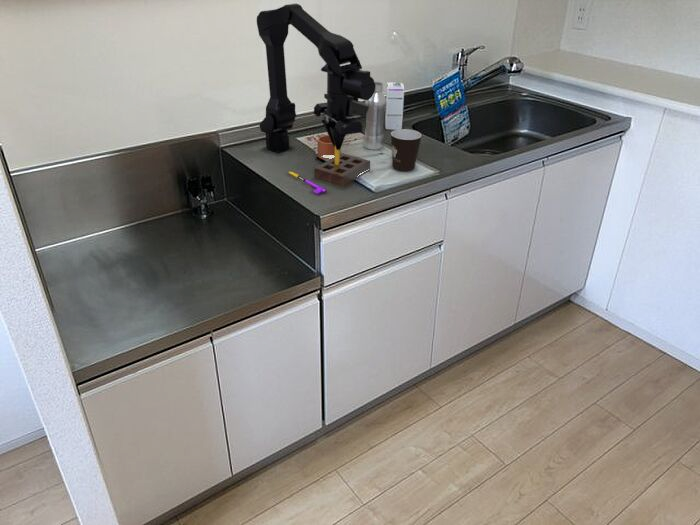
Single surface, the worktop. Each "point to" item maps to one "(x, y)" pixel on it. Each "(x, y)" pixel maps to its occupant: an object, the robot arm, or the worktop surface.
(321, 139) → the pen pot
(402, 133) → the coffee mug
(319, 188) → the purple long piece
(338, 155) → the pencil
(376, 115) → the silver metal bottle
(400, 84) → the syrup box
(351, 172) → the pencil block
